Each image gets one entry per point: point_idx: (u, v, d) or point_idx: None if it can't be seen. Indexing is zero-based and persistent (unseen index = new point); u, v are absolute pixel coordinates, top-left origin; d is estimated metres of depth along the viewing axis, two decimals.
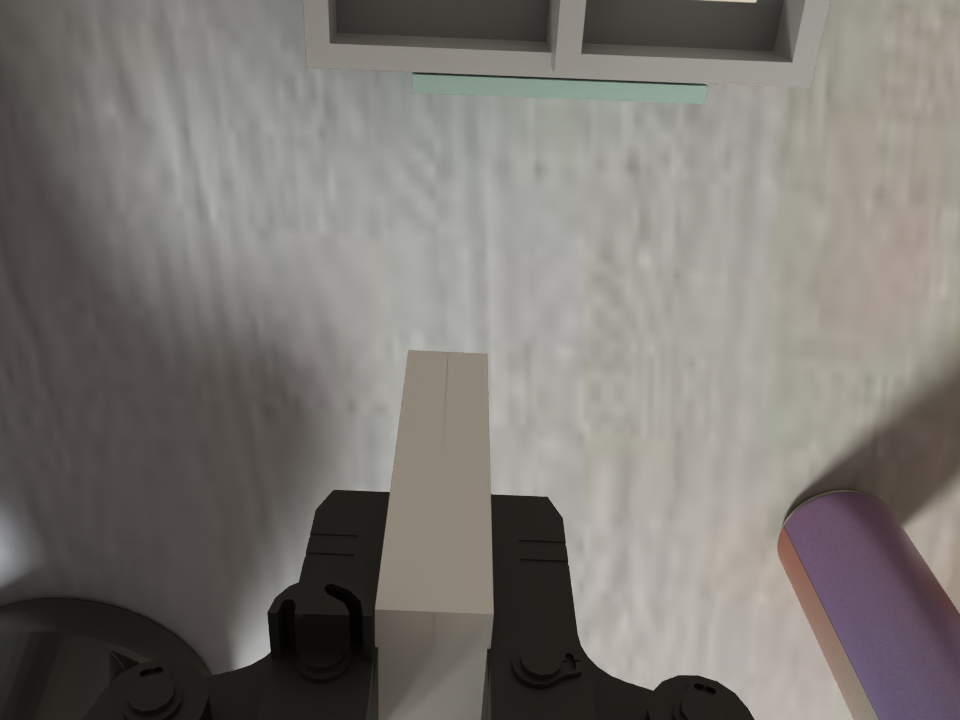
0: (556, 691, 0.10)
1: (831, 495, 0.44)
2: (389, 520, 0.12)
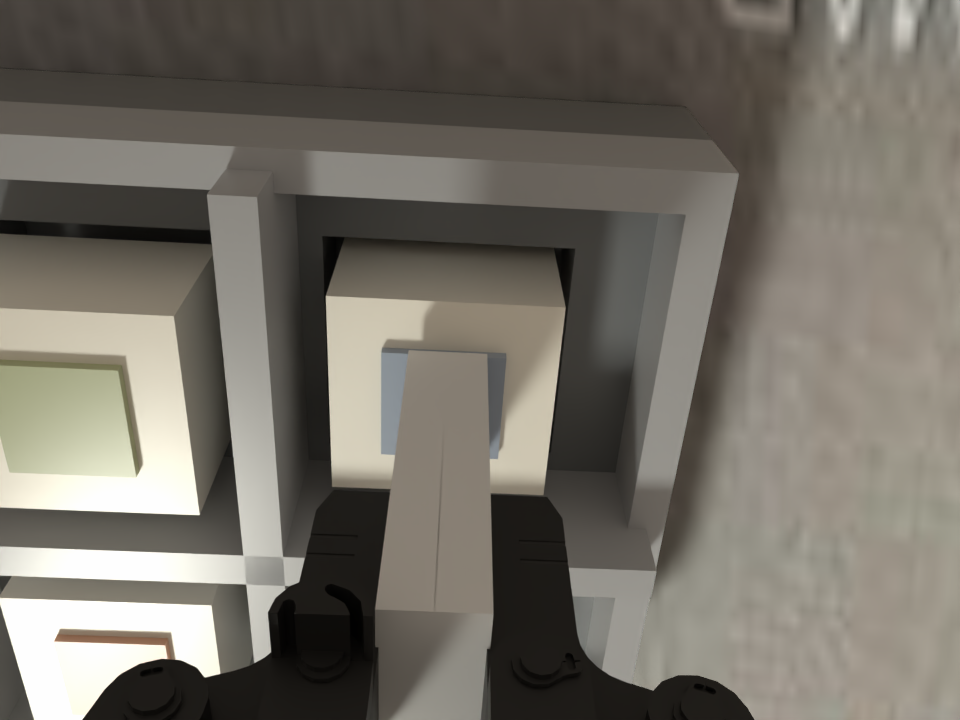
0: (556, 691, 0.10)
1: None
2: (389, 520, 0.12)
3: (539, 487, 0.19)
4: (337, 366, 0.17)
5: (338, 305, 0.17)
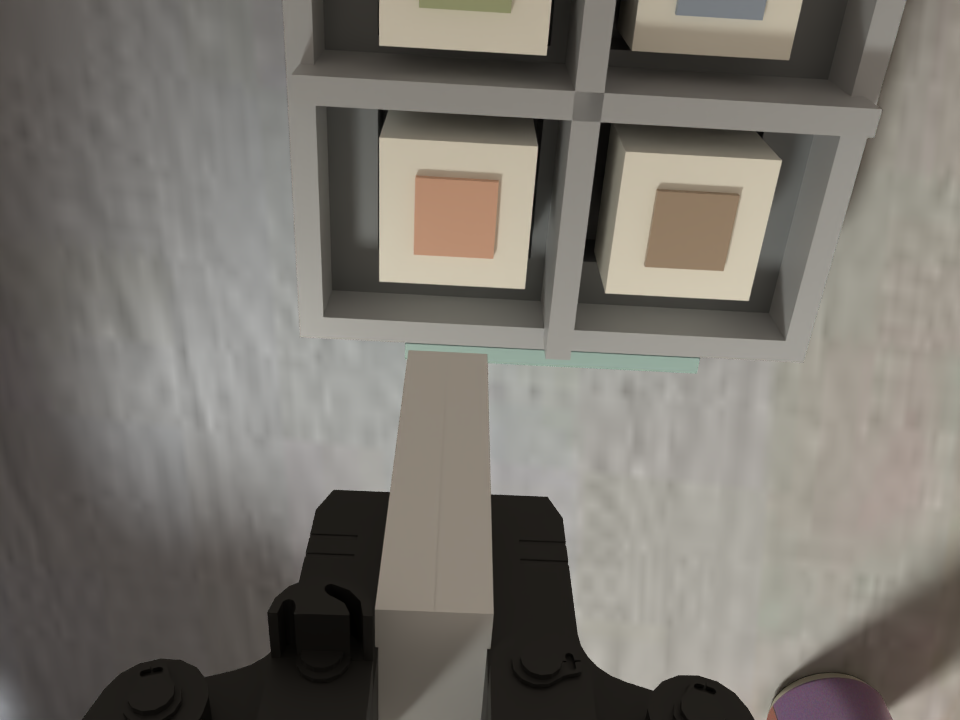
0: (556, 691, 0.10)
1: (821, 682, 0.44)
2: (389, 520, 0.12)
3: (787, 52, 0.25)
4: None
5: None
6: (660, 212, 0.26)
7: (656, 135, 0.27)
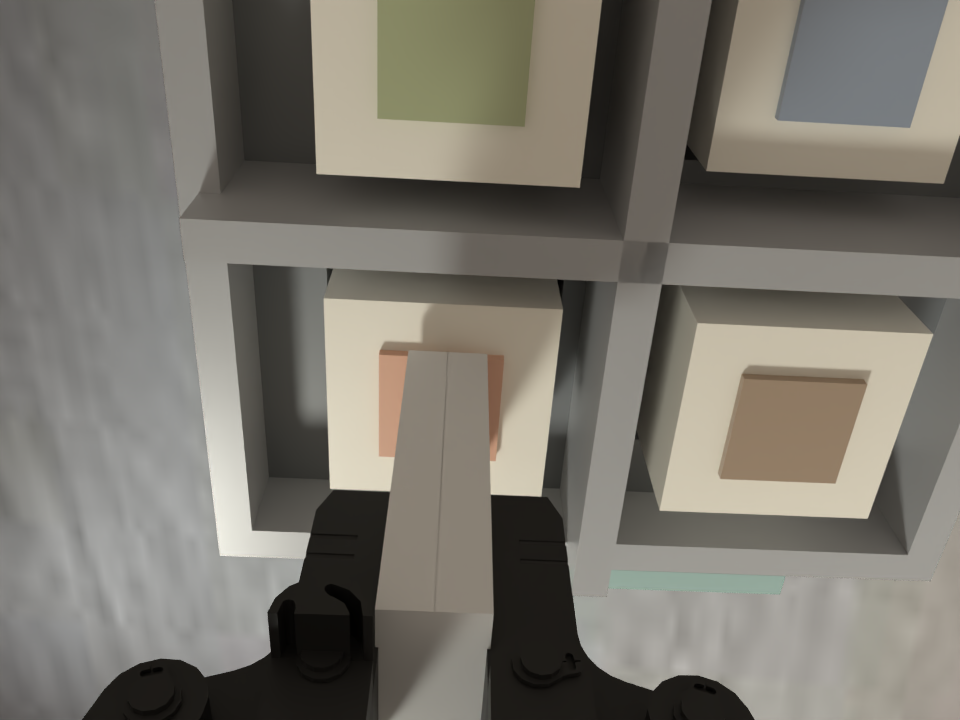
0: (556, 691, 0.10)
1: None
2: (389, 520, 0.12)
3: (942, 172, 0.17)
4: None
5: None
6: (746, 407, 0.17)
7: None
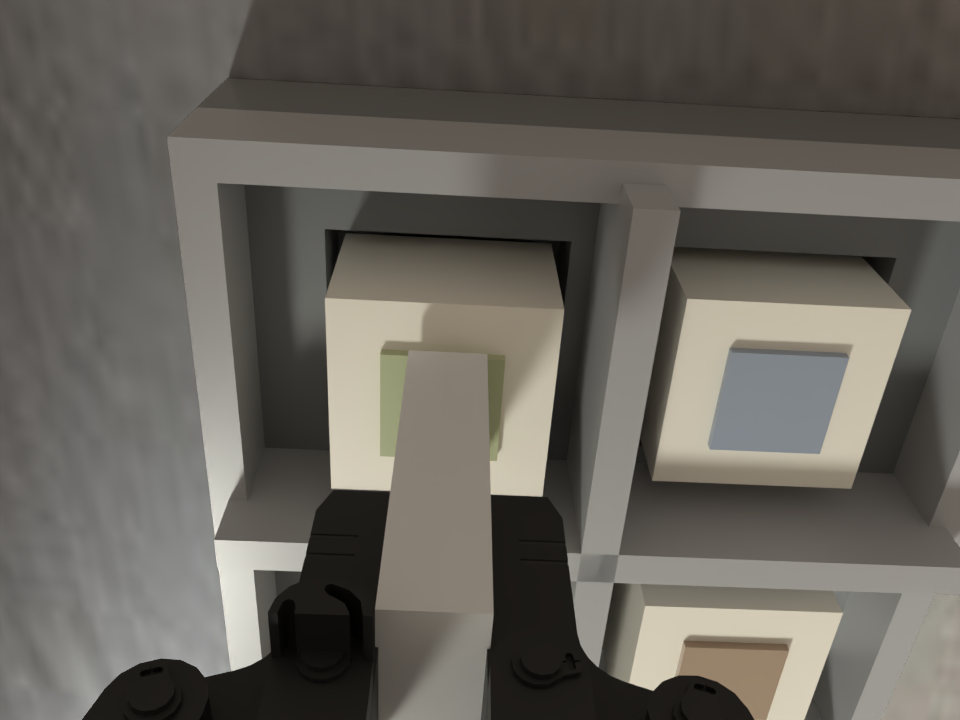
0: (556, 691, 0.10)
1: None
2: (389, 520, 0.12)
3: (849, 481, 0.20)
4: (683, 365, 0.18)
5: (697, 307, 0.18)
6: (688, 667, 0.21)
7: None
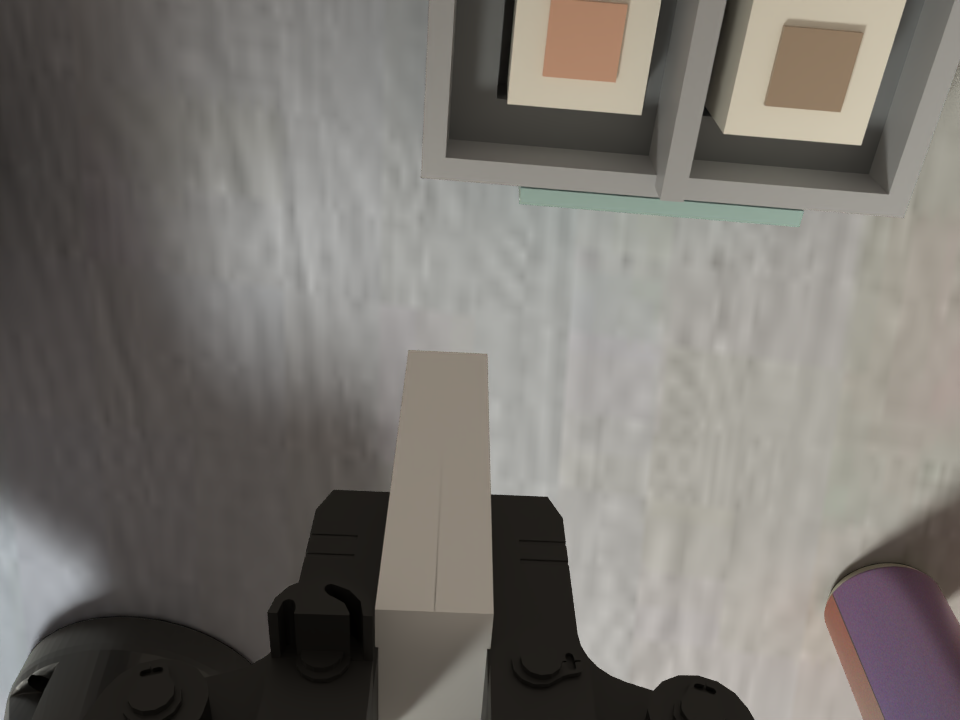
0: (556, 691, 0.10)
1: (881, 569, 0.45)
2: (389, 520, 0.12)
3: None
4: None
5: None
6: (785, 49, 0.27)
7: None
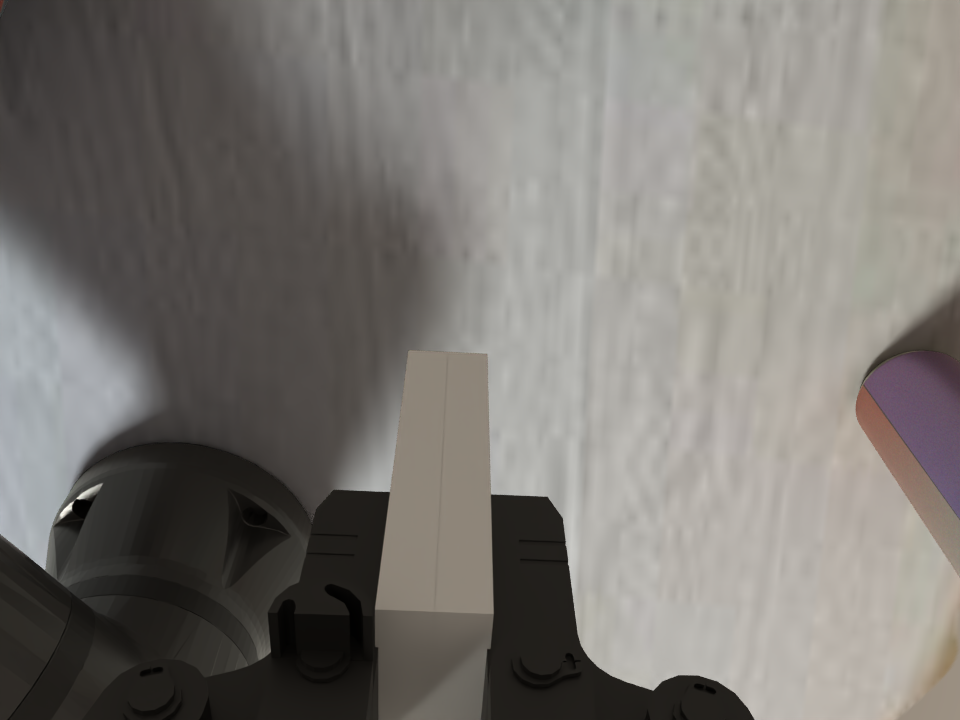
0: (556, 691, 0.10)
1: (910, 353, 0.46)
2: (389, 520, 0.12)
3: None
4: None
5: None
6: None
7: None
